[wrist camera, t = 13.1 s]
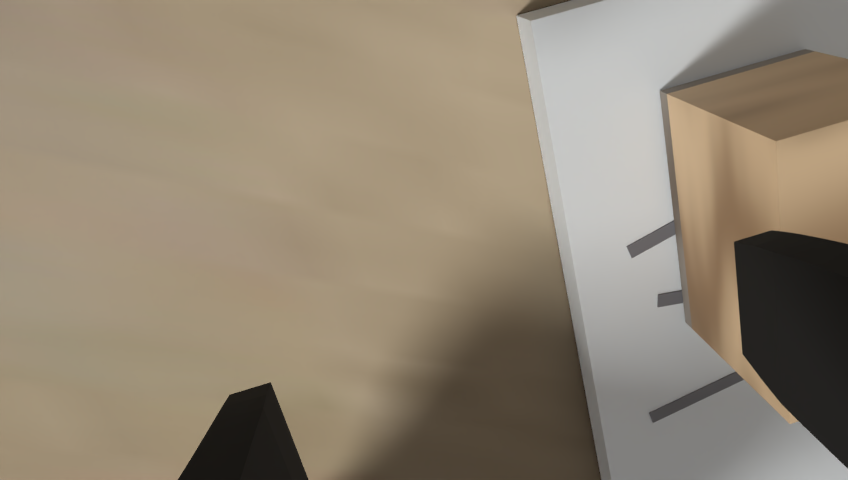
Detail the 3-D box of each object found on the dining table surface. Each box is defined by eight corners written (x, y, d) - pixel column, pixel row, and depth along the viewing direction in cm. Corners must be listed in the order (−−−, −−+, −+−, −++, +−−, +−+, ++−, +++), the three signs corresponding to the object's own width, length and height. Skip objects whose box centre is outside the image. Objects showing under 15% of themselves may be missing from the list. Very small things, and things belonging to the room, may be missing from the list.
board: (874, 447, 27) (900, 470, 26) (611, 534, 27) (625, 561, 26) (880, -86, 20) (915, -86, 19) (516, 15, 19) (531, 20, 18)
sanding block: (812, 282, 23) (947, 373, 18) (685, 322, 22) (790, 424, 18) (805, 48, 20) (963, 86, 15) (659, 90, 20) (776, 141, 15)
